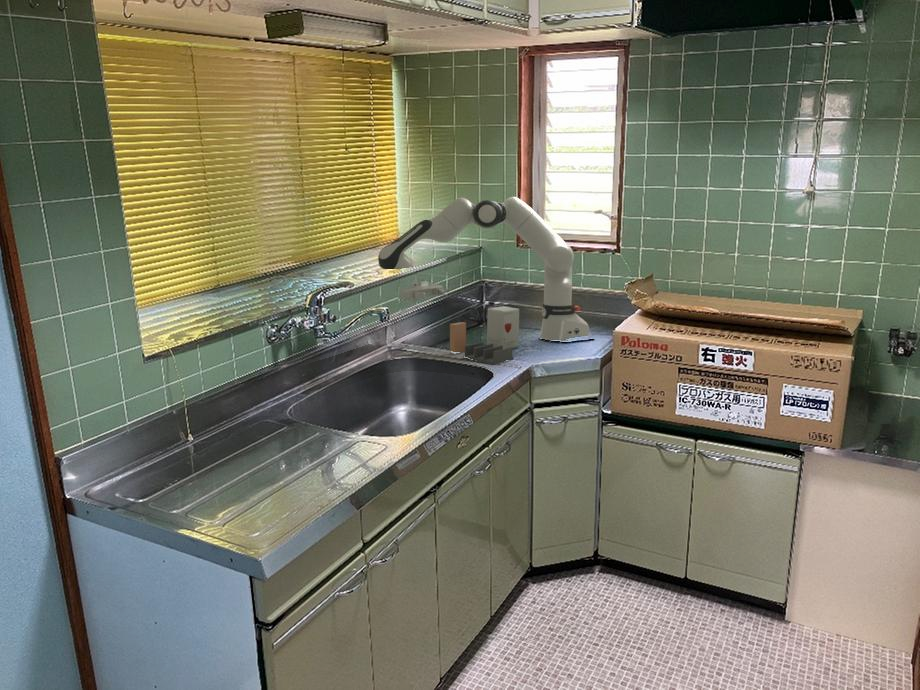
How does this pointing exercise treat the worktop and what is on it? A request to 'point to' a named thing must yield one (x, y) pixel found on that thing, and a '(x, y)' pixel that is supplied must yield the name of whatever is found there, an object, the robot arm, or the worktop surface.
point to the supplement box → (503, 327)
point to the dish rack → (488, 353)
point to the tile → (458, 337)
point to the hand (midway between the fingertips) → (434, 294)
